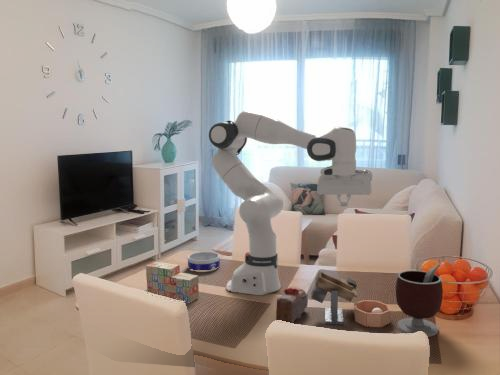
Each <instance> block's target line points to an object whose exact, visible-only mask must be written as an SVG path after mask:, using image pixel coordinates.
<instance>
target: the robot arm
mask: <svg viewBox="0 0 500 375" xmlns="http://www.w3.org/2000/svg"><path fill="white" fill-rule="evenodd" d="M208 138H209V141H210V143H211V144H212V145H213V146H214V147H215V148H217V149H216V152H215V153H214V154H213V155H212V157H211V164H212V167H213V168H214V170H215V172H216V173H217V175H218V176H219V177H220V179H221V180H222V182H223V183H225V185H226V186H227V188H228V189H229V190H230V192H231V193H232V194H233V195H235V196H236V197H237V198H240V199H242V200H243V202H242V203H241V204H240V205H239V209H238V210H239V211H238V213H239V216H240V218H241V220H242V221H243V222H244V223H245V226H246V229H247V233H248V240H249V241H248V243H249V244H248V245H249V251H246V252H245V253H244V254H245V256H244V262H243V263H242V264H241V265H240V266H238V267H236V269H235V270H234V271H233V273H232V276H231V279H230V280H229V281H227V283H226V286H225V289H227V290H228V291H227V290H226V291H227V292H229V291H231V293H237V292H238V294H244V295H245V294H247V295H255V296H264V295H267V294H270V293H274V292H277V291H279V290H280V289H281V287H282V285H281V283H280V280H279V274H278V267H279V264H278V263H279V261H278V260H279V258H278V253H277V234H276V232H275V231H274V230H273V227H272V221H271V220H272V219H273V218H275V217H277V216H278V215H279V214H280V213H281V212H282V211H283V209H284V200H283V198H282V196H281V195H280V194H278V193H277V192H274V191H272V190H271V189H270V188H269V187H267V186H266V185H265V184H264V183H263V182H261V181H260V180H259V179H258V178H256V177H255V176H254V175H253V174H252V172H251V171H250V170H249V169H248V168H247V166H246V165H245V164H244V163H243V162H242V161H241V159H240V158H239V157H238V155H240V154H241V152H242V150H243V149H244V148H245V146H246V145H247V142H248V139H250V140H251V139H252V140H255V141H257V142H260V143H264V144H267V145H268V144H269V145H293V146H296V147H299V148H302V149H305V150H306V152H307V154H308V157H309V158H310V159H311V160H313V161H316V162H325V161H331V164H332V165H330V166H326V167H324V168H321V169H320V171H319V173H320V175H319V177H318V181H317V187H316V193H317V194H318V195H332V196H333V195H336V198H337V199H338V203H339V207H348V203H349V201H350V200H351V196H352V195H357V196H358V195H360V196H361V195H367V196H369V195H370V194H371V193H372V180H373V173H372V172H371V171H370V170H368V169H357V160H356V152H357V138H356V133H355V131H354V130H353V129H352V128H349V127H343V126H335V127H333V129H331V130H330V131H328V132H326V133H323V134H321V135H318V136H317V135H314V134H311V133H308V132H305V131H302V130H299V129H296V128H293V127H292V126H290V125H288V124H287V123H284V122H282V121H281V120H279V119H277V118H275V117H273V116H272V115H271V116H270V115H268V114H265V113H262V112H257V111H253V110H242V111H241V112H240V113H239V114H238V115H237V117H236V119H235V121H233V120H231V119H230V120H227V121H221V122H220V121H219V122H218V123H215V124H214V125H212V126H211V127H210V129H209V132H208ZM342 195H344V196H345V195H346V197H347V198H346V199H345V201H344V200H342V199H341V198H342Z"/></svg>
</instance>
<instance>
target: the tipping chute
mask: <svg viewBox="0 0 500 375" xmlns="http://www.w3.org/2000/svg"><path fill="white" fill-rule="evenodd" d="M314 282H315V283H314V287H313V289H312V290H311V297H310V298H311V299H312V300H314V301H317V302H318V303H319V304H323V302H324V300H325V298H326V297H327V294H328V292H329V293H331V289H333V290H338V297H339V298H341V299H343V300H346V301H347V302H350V303H351V302H352V300H353V298H357V297H358V294H357V289H356V288H357V287H358V284H357V281H355V280H353V279H351V278H348V279H344V278H341V277H340V279H338V278H336V277H334V276H331V275H330V274H327V273H325V272H324V271H320V270H319V271H318V272H317V275H316V277H315V281H314Z"/></svg>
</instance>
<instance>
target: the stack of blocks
mask: <svg viewBox="0 0 500 375" xmlns="http://www.w3.org/2000/svg"><path fill="white" fill-rule="evenodd" d="M180 267H181V266H180V264H175V263H174V264H173V263H168V262H167V263H166V262H161V261H154V262H152V263H149V264H147V265H145V271H146V274H145V275H146V289H147V290H146V291H148V292H151V293H154V294H158V295H162V296H166V297H170V298H173V299H176V298H177V300H180V299H181V300H183V301H184V300H185V301H186V302H191V301H193V300H194V299H196V298H198V297H199V298H200V295H199V293H200V290H199V275H196V274H192V273H186V272H181V270H180V269H181V268H180ZM148 292H147V293H148ZM199 298H198V299H199ZM193 302H194V301H193ZM191 303H192V302H191Z"/></svg>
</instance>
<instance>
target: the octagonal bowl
mask: <svg viewBox="0 0 500 375" xmlns="http://www.w3.org/2000/svg"><path fill="white" fill-rule="evenodd" d="M353 306H354V307H353V311H354V312H353V313H354V314H353V316H354V317H353V318H354V322H355V323H357V324H360V325H362V326H365V327H368V326H369V327H368V328H383V327H385V326H387V324H388V325H390V324H391V309H390V306H389V304H387V303H383V302H382V301H379V300H370V299H368V300H367V299H362V300H359V301H357V302H354V305H353ZM374 308H380V309H381V310H382V313H372V310H373V309H374ZM389 323H390V324H389Z"/></svg>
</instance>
